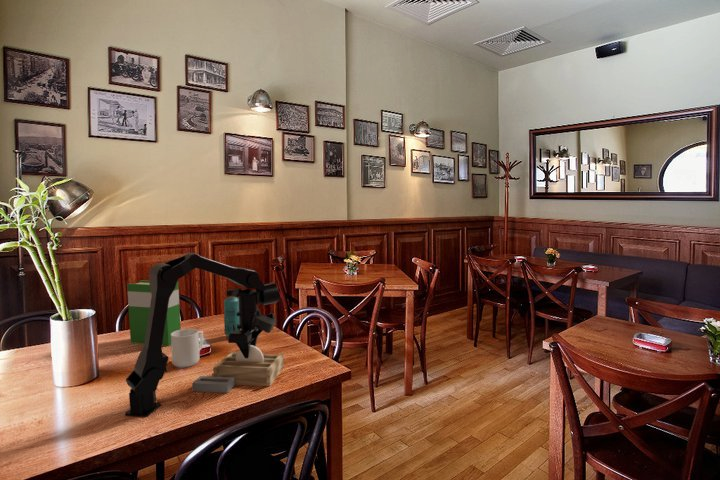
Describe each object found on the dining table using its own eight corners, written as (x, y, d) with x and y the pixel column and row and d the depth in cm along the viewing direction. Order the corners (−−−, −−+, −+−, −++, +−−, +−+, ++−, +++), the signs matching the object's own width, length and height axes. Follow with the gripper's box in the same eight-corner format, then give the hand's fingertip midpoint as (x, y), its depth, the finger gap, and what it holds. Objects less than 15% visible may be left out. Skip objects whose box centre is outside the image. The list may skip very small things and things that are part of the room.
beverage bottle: (223, 335, 172) (221, 288, 170) (239, 333, 175) (238, 287, 173) (225, 340, 166) (223, 292, 164) (242, 338, 169) (240, 290, 167)
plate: (263, 373, 132) (262, 347, 130) (236, 372, 133) (235, 345, 131) (264, 372, 133) (263, 345, 132) (237, 370, 134) (236, 344, 133)
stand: (227, 392, 121) (227, 384, 120) (192, 391, 122) (192, 383, 122) (234, 385, 126) (234, 377, 125) (200, 383, 127) (200, 375, 127)
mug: (184, 370, 137) (183, 338, 136) (166, 365, 141) (164, 334, 140) (212, 358, 148) (210, 328, 146) (194, 354, 151) (193, 324, 150)
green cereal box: (130, 342, 164) (127, 283, 162) (144, 336, 171) (141, 280, 169) (168, 346, 160) (165, 285, 158) (181, 339, 167) (178, 281, 165)
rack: (270, 386, 125) (269, 370, 124) (213, 383, 127) (213, 367, 126) (283, 367, 139) (283, 353, 138) (232, 365, 141) (232, 351, 140)
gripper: (262, 316, 121) (263, 368, 122) (281, 301, 139) (282, 345, 140) (226, 315, 122) (228, 366, 123) (249, 300, 140) (251, 344, 142)
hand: (249, 355), depth 132 cm, fingers open, 5 cm apart
